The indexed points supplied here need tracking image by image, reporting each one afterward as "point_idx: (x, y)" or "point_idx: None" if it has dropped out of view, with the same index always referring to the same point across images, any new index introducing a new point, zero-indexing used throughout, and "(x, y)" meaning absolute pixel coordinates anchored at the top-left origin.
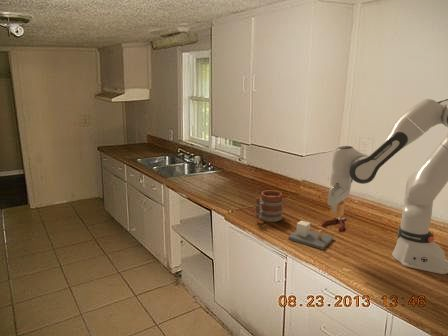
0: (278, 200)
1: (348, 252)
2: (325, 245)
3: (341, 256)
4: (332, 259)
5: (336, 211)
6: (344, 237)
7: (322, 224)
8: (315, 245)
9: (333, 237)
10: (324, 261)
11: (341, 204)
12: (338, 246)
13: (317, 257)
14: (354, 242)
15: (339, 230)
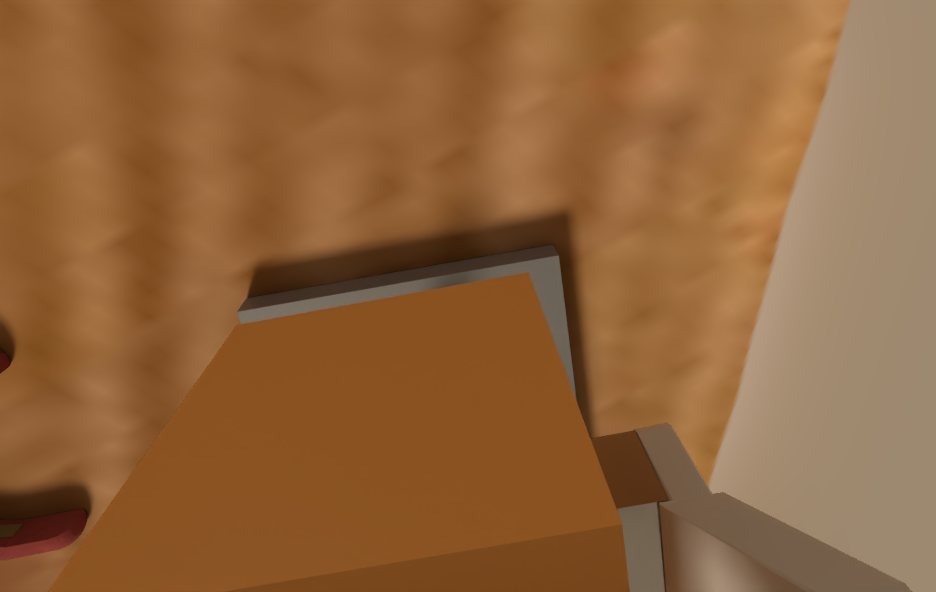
0: None
1: (392, 14)
2: (488, 263)
3: (545, 23)
4: (681, 60)
5: (674, 431)
6: (88, 242)
7: (75, 534)
8: (566, 329)
9: (240, 307)
10: (777, 98)
11: (557, 558)
12: (350, 173)
13: (743, 194)
14: (93, 95)
15: (3, 361)
